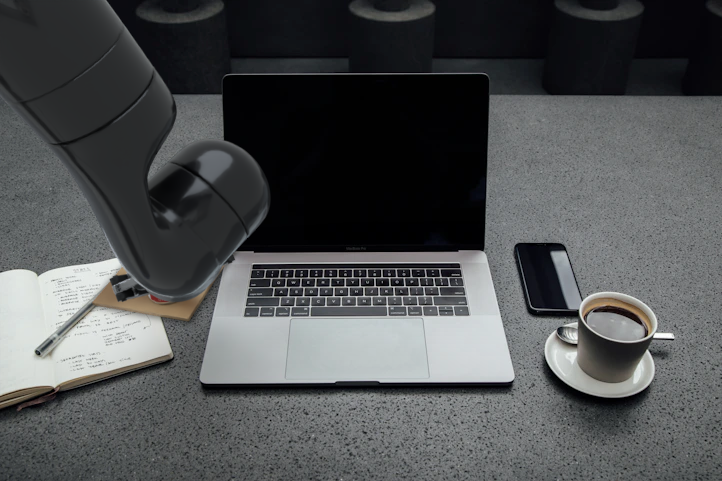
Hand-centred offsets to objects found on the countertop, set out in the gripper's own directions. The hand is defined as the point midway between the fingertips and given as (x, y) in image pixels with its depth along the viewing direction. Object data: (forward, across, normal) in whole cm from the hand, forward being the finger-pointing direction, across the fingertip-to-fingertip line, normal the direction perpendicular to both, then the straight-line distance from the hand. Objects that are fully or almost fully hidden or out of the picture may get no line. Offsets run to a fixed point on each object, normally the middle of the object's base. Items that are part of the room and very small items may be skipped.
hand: (170, 279), depth 70 cm
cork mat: (+16, -3, -3) cm, 17 cm away
